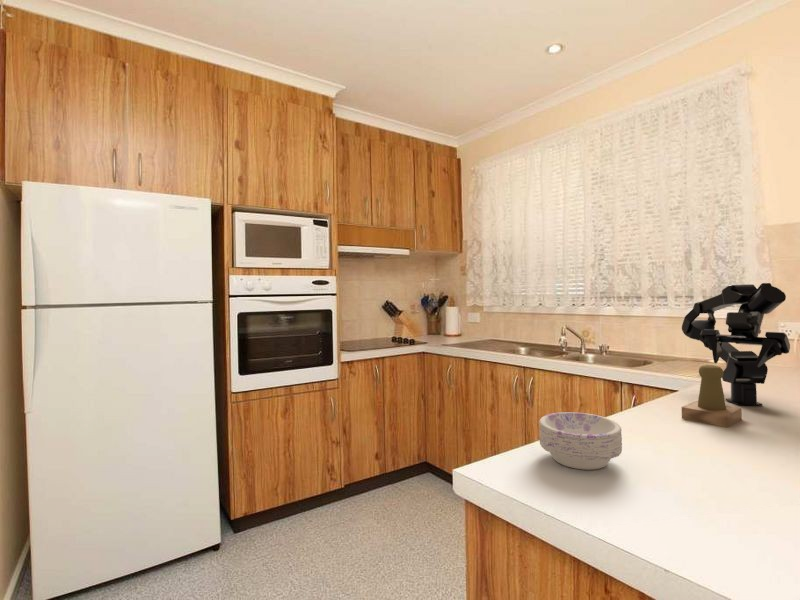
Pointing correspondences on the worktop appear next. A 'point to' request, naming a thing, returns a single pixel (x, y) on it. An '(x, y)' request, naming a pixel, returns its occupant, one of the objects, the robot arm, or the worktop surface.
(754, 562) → the worktop surface
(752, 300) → the robot arm
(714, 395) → the cork
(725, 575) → the worktop surface
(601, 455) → the paper bowls
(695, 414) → the base block
